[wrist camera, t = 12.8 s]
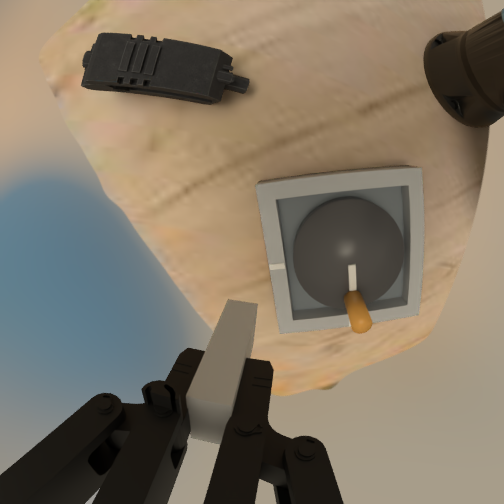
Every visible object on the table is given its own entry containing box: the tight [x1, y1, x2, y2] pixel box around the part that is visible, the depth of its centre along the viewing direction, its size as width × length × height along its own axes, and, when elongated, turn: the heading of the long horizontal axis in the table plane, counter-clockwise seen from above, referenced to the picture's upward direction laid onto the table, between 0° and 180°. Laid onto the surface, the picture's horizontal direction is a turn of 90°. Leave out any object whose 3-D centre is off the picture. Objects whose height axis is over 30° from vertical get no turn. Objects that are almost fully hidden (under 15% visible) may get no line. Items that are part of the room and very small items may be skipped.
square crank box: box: [255, 165, 424, 334], centre depth 35 cm, size 20×20×5 cm
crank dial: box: [293, 196, 404, 333], centre depth 31 cm, size 14×14×8 cm
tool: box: [81, 33, 249, 105], centre depth 28 cm, size 6×19×15 cm, turn 76°
